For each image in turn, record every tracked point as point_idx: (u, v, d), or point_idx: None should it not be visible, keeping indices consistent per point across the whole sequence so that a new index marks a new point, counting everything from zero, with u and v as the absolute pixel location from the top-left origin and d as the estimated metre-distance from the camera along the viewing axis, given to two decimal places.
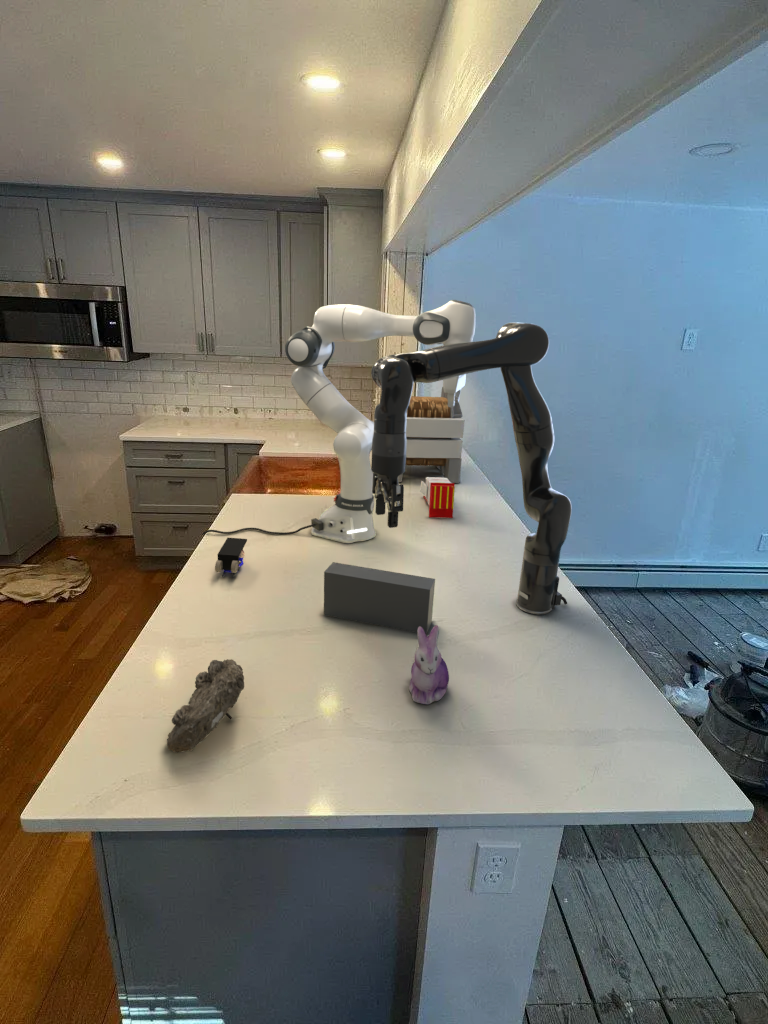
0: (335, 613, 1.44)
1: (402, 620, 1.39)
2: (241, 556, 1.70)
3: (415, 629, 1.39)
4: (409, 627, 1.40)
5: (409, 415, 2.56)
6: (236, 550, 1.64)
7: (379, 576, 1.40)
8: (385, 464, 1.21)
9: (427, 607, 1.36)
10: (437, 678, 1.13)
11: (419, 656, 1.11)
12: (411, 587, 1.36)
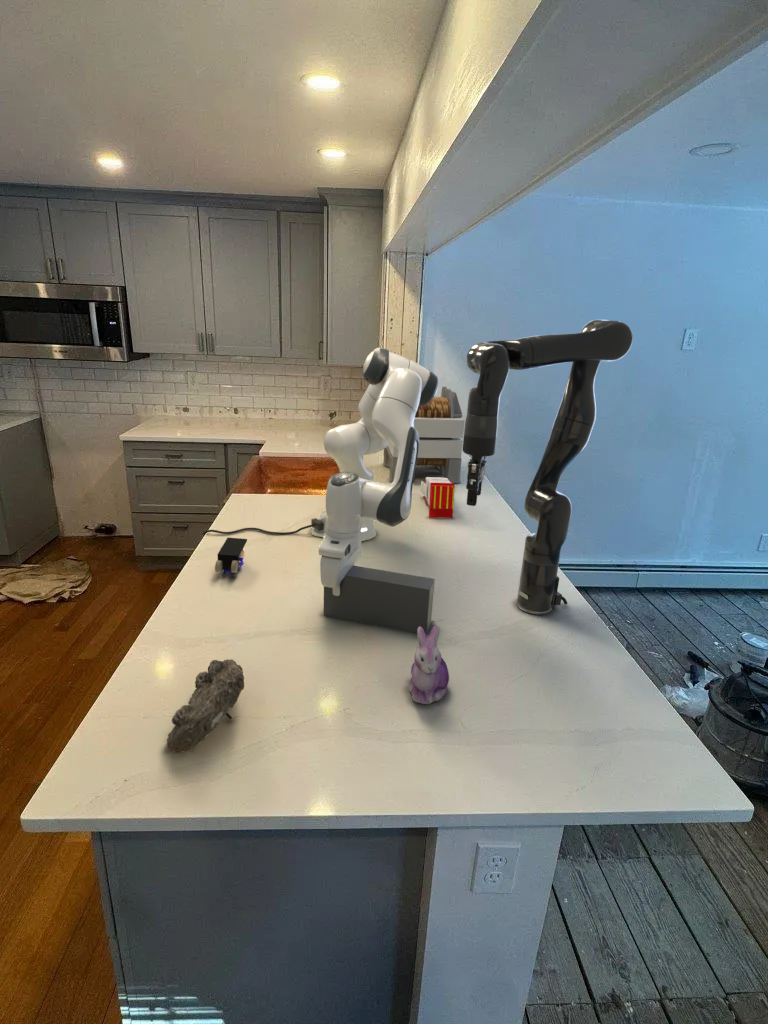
0: (335, 613, 1.44)
1: (402, 620, 1.39)
2: (241, 556, 1.70)
3: (415, 629, 1.39)
4: (409, 627, 1.40)
5: None
6: (236, 550, 1.64)
7: (379, 576, 1.40)
8: (469, 443, 1.29)
9: (427, 607, 1.36)
10: (437, 678, 1.13)
11: (419, 656, 1.11)
12: (411, 587, 1.36)
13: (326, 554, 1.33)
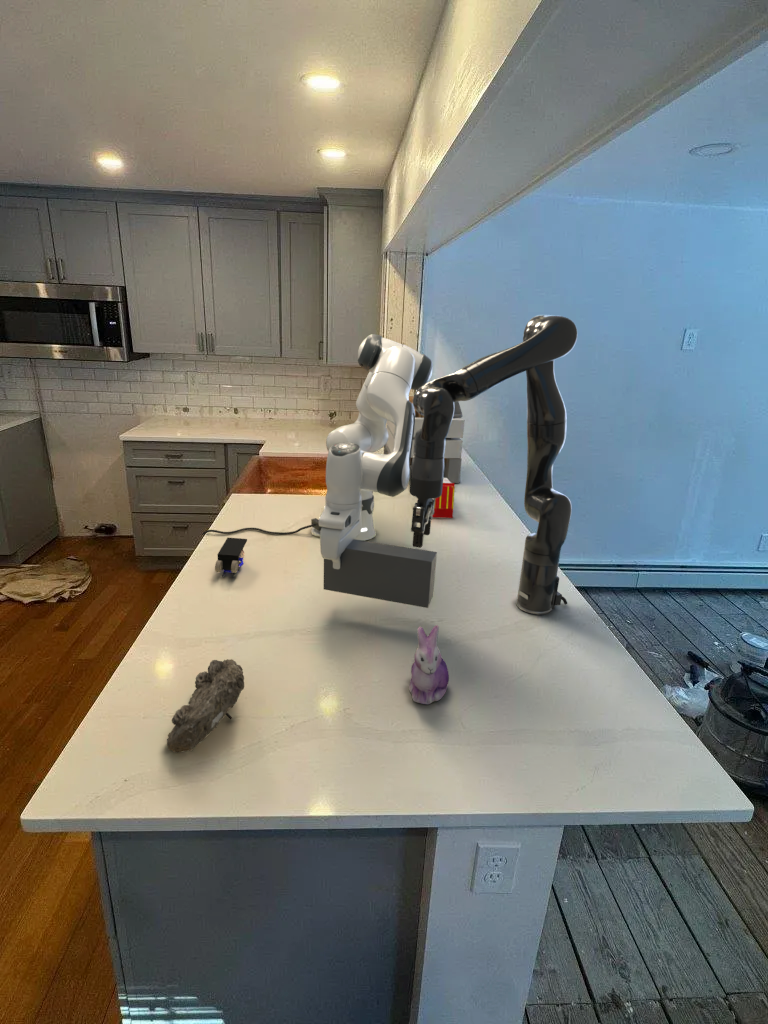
0: (335, 588, 1.42)
1: (403, 594, 1.37)
2: (241, 556, 1.70)
3: (416, 603, 1.37)
4: (411, 601, 1.37)
5: None
6: (236, 550, 1.64)
7: (380, 549, 1.38)
8: (415, 485, 1.28)
9: (429, 580, 1.34)
10: (437, 678, 1.13)
11: (419, 656, 1.11)
12: (412, 560, 1.34)
13: (326, 525, 1.30)
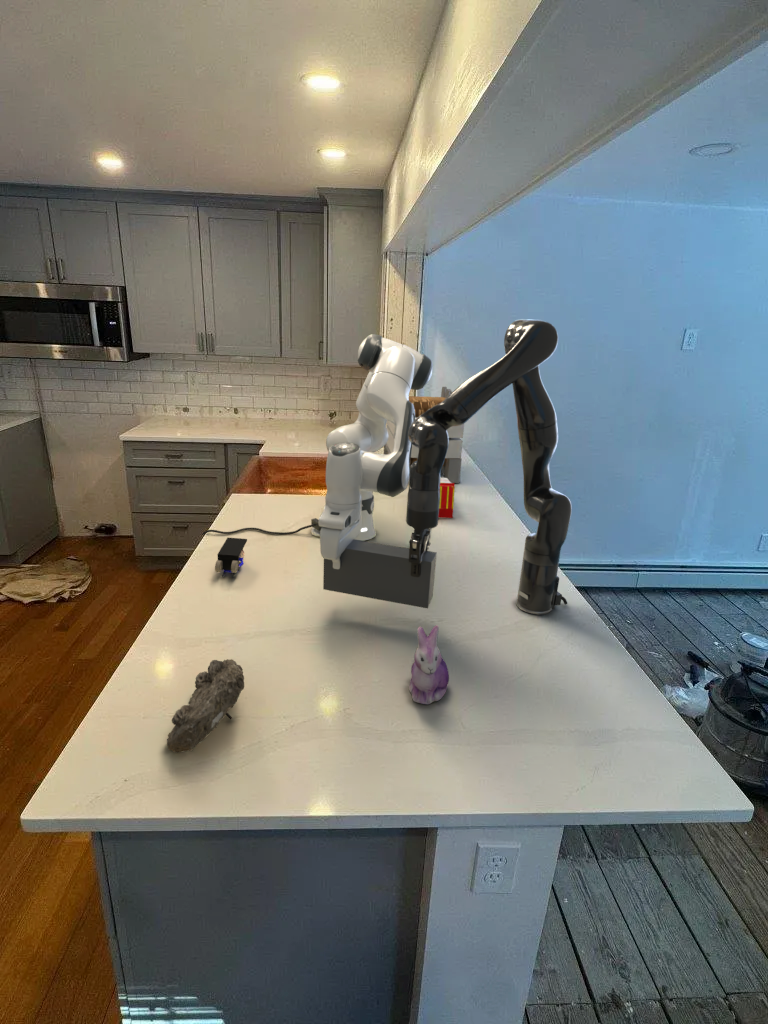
0: (335, 588, 1.42)
1: (403, 594, 1.37)
2: (241, 556, 1.70)
3: (416, 603, 1.37)
4: (410, 601, 1.37)
5: None
6: (236, 550, 1.64)
7: (380, 549, 1.38)
8: (411, 516, 1.30)
9: (428, 580, 1.34)
10: (437, 678, 1.13)
11: (419, 656, 1.11)
12: None
13: (326, 525, 1.31)
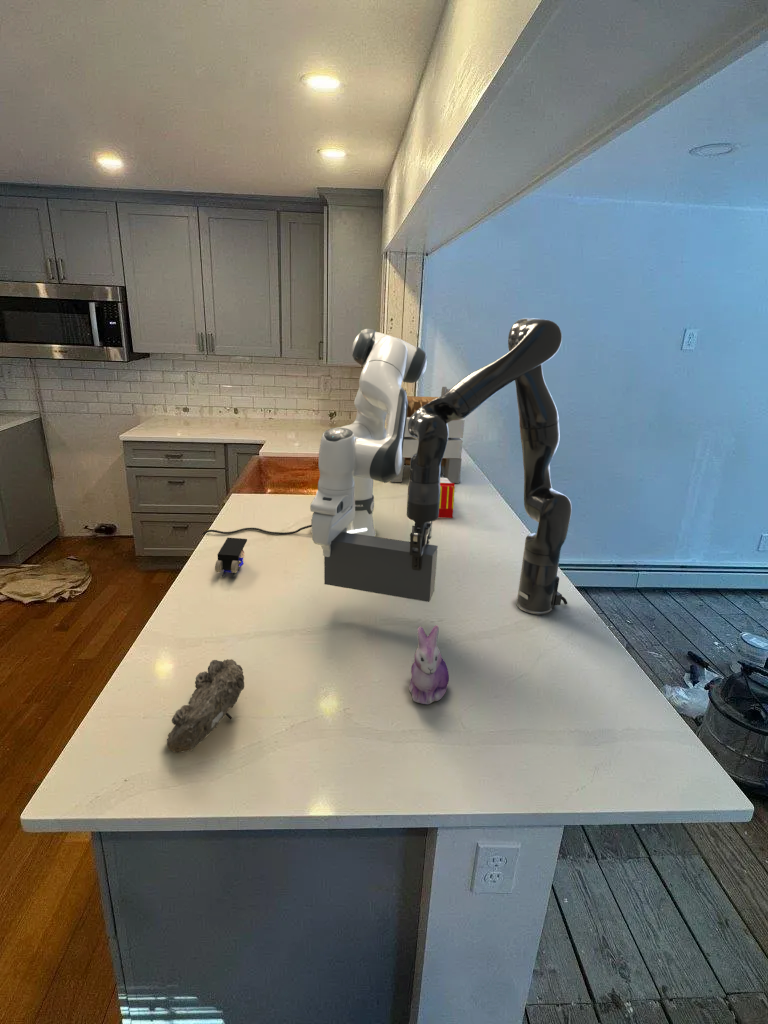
0: (336, 582, 1.41)
1: (404, 588, 1.37)
2: (241, 556, 1.70)
3: (417, 597, 1.36)
4: (412, 595, 1.37)
5: (409, 415, 2.56)
6: (236, 550, 1.64)
7: (381, 543, 1.37)
8: (412, 509, 1.29)
9: (430, 574, 1.33)
10: (437, 678, 1.13)
11: (419, 656, 1.11)
12: None
13: (318, 510, 1.30)
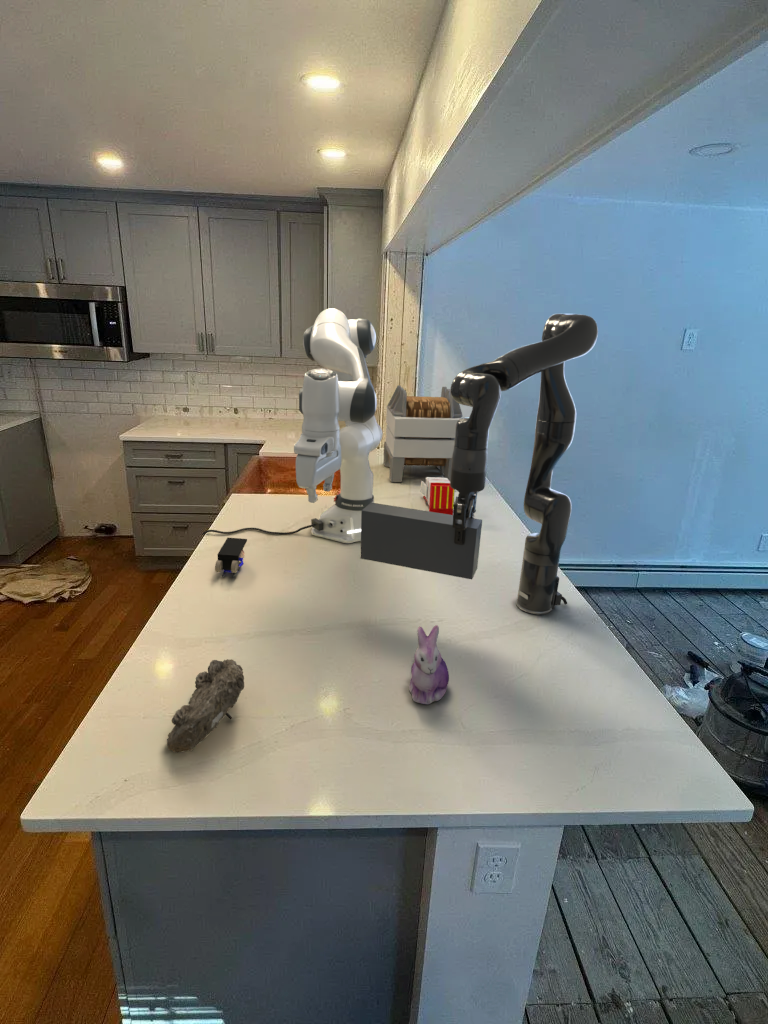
0: (373, 557, 1.34)
1: (446, 564, 1.28)
2: (241, 556, 1.70)
3: (459, 574, 1.28)
4: (453, 572, 1.28)
5: (409, 415, 2.56)
6: (236, 550, 1.64)
7: (421, 515, 1.29)
8: (456, 478, 1.21)
9: (473, 549, 1.24)
10: (437, 678, 1.13)
11: (419, 656, 1.11)
12: None
13: (302, 452, 1.26)
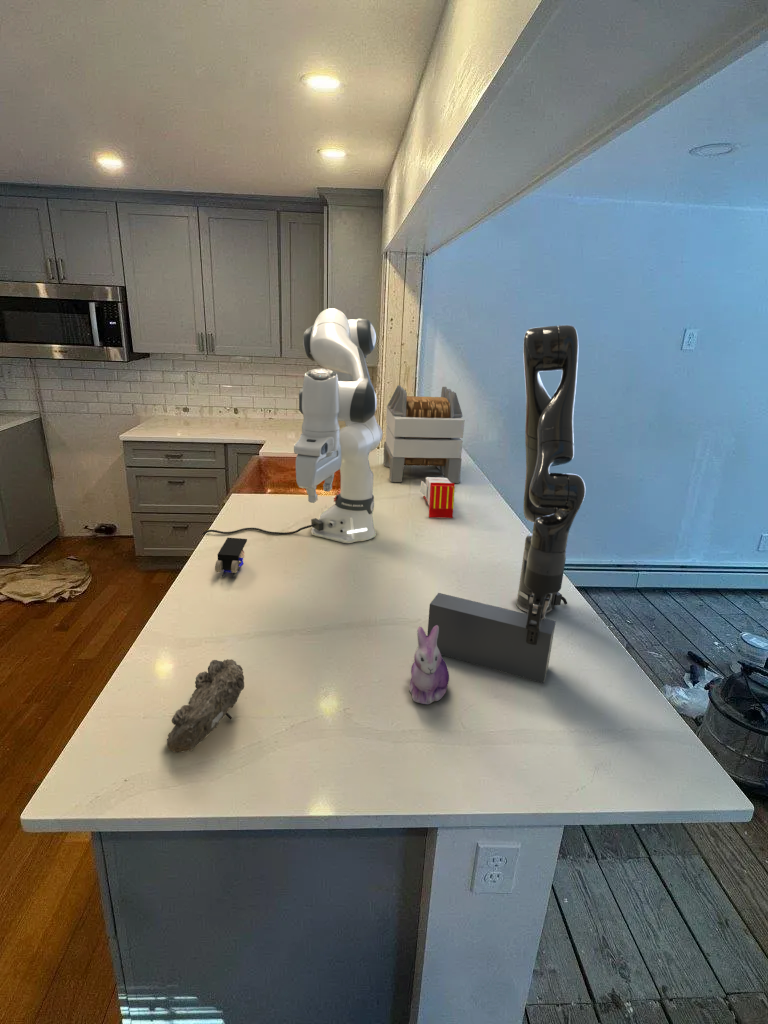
0: (439, 650, 1.31)
1: (516, 665, 1.24)
2: (241, 556, 1.70)
3: (530, 676, 1.23)
4: (524, 674, 1.24)
5: (409, 415, 2.56)
6: (236, 550, 1.64)
7: (492, 613, 1.25)
8: (532, 579, 1.16)
9: (546, 653, 1.20)
10: (437, 678, 1.13)
11: (419, 656, 1.11)
12: None
13: (302, 452, 1.26)
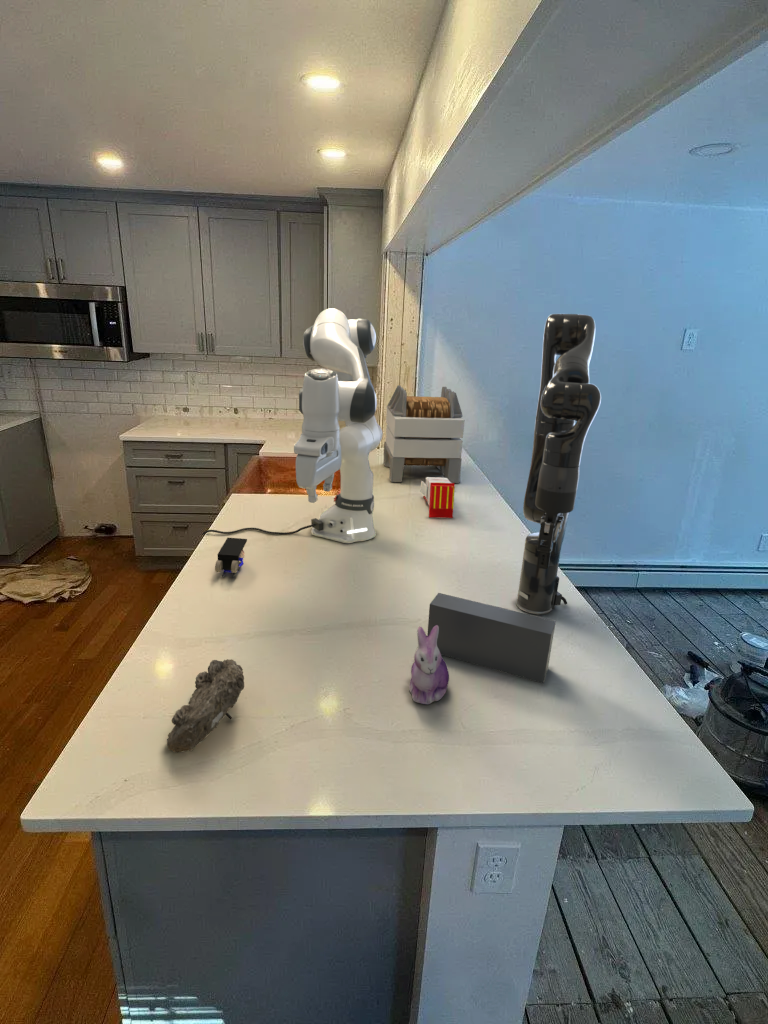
0: (439, 650, 1.31)
1: (516, 665, 1.24)
2: (241, 556, 1.70)
3: (530, 676, 1.23)
4: (524, 674, 1.24)
5: (409, 415, 2.56)
6: (236, 550, 1.64)
7: (492, 613, 1.25)
8: (543, 497, 1.10)
9: (546, 653, 1.20)
10: (437, 678, 1.13)
11: (419, 656, 1.11)
12: (529, 630, 1.20)
13: (302, 452, 1.26)
